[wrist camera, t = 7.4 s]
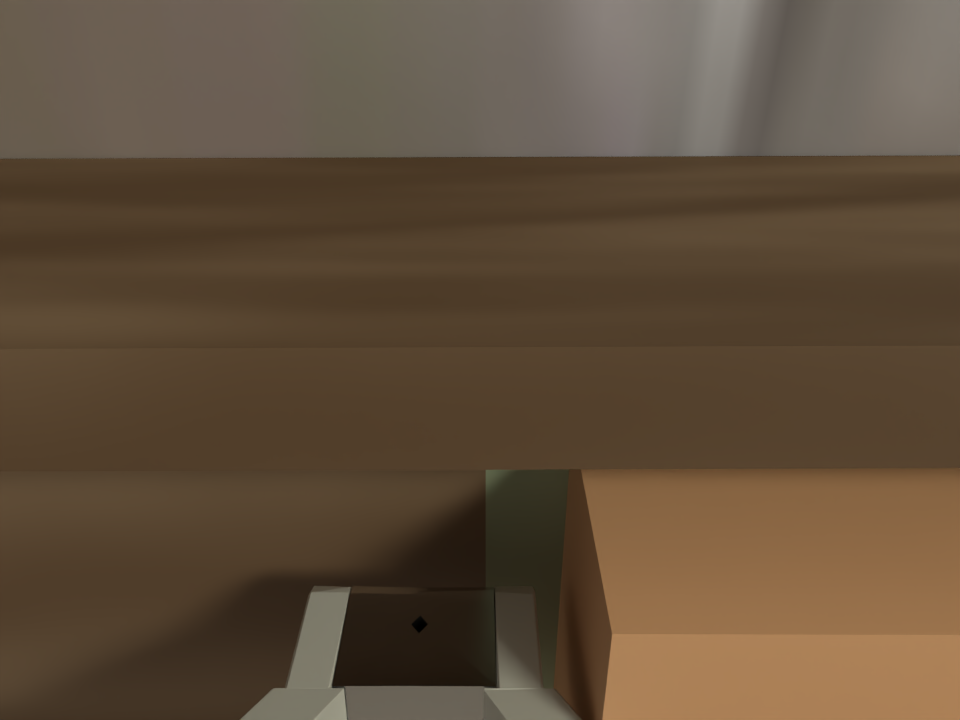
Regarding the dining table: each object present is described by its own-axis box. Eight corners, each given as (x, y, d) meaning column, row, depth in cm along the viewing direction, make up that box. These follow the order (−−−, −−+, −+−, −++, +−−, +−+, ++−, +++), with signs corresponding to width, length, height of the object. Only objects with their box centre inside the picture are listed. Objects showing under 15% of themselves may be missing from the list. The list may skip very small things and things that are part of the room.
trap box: (-966, 162, 12) (-2138, 356, 7) (1793, 152, 12) (2857, 338, 7) (-551, 652, 17) (-1035, 996, 11) (1419, 645, 17) (1862, 985, 11)
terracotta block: (572, 423, 10) (612, 634, 7) (1039, 425, 10) (1275, 635, 7) (553, 692, 13) (577, 936, 10) (934, 692, 13) (1079, 937, 10)
